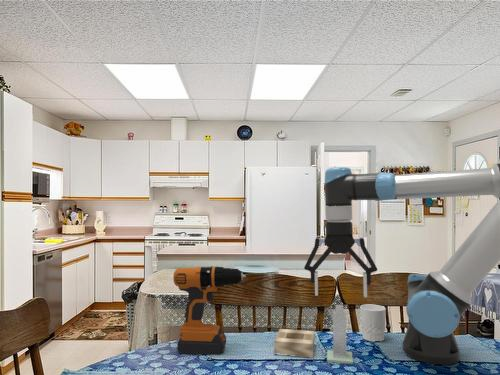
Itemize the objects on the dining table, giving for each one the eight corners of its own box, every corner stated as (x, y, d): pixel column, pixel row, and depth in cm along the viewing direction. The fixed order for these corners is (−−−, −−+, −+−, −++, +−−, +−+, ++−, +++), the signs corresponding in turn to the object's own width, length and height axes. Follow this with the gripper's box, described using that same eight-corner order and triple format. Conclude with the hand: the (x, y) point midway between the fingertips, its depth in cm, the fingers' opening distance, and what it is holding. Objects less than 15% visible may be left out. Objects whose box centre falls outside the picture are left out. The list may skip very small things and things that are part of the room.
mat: (351, 354, 111) (351, 352, 111) (353, 364, 104) (353, 361, 104) (327, 352, 112) (327, 350, 112) (326, 361, 106) (326, 359, 106)
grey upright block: (345, 352, 111) (345, 305, 111) (346, 360, 105) (346, 310, 106) (333, 351, 111) (333, 304, 112) (333, 359, 106) (333, 309, 107)
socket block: (314, 344, 119) (314, 331, 119) (312, 358, 108) (312, 344, 108) (279, 341, 121) (279, 328, 121) (274, 354, 110) (274, 340, 110)
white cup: (365, 332, 130) (365, 303, 130) (389, 337, 125) (388, 306, 125) (357, 339, 123) (356, 308, 124) (381, 344, 119) (381, 312, 119)
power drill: (246, 346, 117) (246, 264, 118) (244, 355, 110) (245, 268, 111) (177, 344, 118) (177, 263, 119) (171, 354, 111) (171, 267, 112)
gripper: (382, 220, 111) (384, 294, 110) (296, 220, 116) (298, 291, 115) (386, 221, 104) (388, 300, 103) (294, 221, 109) (295, 296, 108)
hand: (340, 295), depth 109 cm, fingers open, 13 cm apart
